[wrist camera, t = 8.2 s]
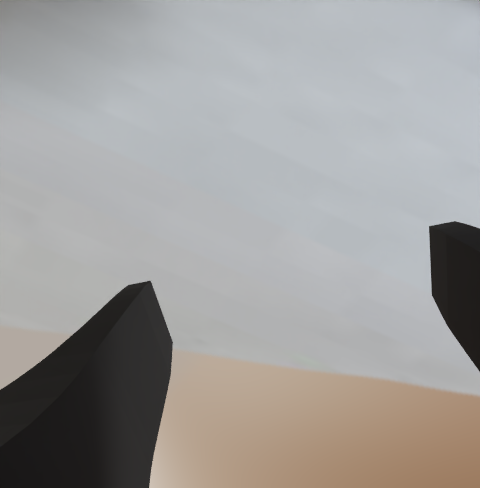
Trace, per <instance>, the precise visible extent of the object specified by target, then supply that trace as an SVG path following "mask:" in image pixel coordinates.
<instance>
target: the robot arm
mask: <svg viewBox="0 0 480 488" xmlns="http://www.w3.org/2000/svg"><path fill="white" fill-rule="evenodd" d="M429 233H430V257H431V282H432V296H433V298H434V300H435V302H436V304H437V306H438V308H439V310H440V312H441V314H442V316H443V318H444V320H445V322H446V324H447V326H448V327H449V329H450V330H451V332H452V333H453V335H454V336H455V337H456V339H457V340H458V342H459V343H460V345H461V346H462V347H463V349H464V350H465V352H466V353H467V354H468V356H469V357H470V359H471V360H472V361H473V363H474V364H475V366H476V367H477V368H478V370H479V371H480V229H479V228H476V227H473V226H470V225H467V224H463V223H459V222H455V221H454V222H449V223H444V224H439V225H434V226H429ZM172 344H173V342H172V339H171V336H170V333H169V331H168V328H167V325H166V322H165V320H164V317H163V314H162V311H161V308H160V306H159V303H158V300H157V297H156V294H155V292H154V289H153V286H152V283H151V281H147V282H142V283H137V284H132V285H128V286H127V287H125V288H124V289H123V290H121V291H120V292H119V293H118V294H117V295H116V296H115V297H113V298H112V299H111V300H110V301H109V302H108V303H107V304H106V305H105V306H104V307H103V308H102V309H101V310H100V311H98V312H97V313H96V314H95V315H94V316H93V317H92V318H91V319H90V320H89V321H88V322H87V323H86V324H84V325H83V326H82V327H81V328H80V329H79V330H78V331H77V332H75V333H74V334H73V335H72V336H71V337H70V338H69V339H67V340H66V341H65V342H64V343H63V344H61V345H60V347H58V348H57V349H56V350H55V351H53V352H52V353H51V354H50V355H48V356H47V357H46V358H45V359H43V360H42V361H41V362H40V363H38V364H37V365H36V366H34V367H33V368H32V369H30V370H29V371H27V372H26V373H25V374H23V375H22V376H20V377H19V378H18V379H16V380H15V381H13V382H12V383H10V384H9V385H7V386H6V387H4V388H3V389H1V390H0V488H149V483H150V473H151V467H152V461H153V455H154V450H155V444H156V441H157V436H158V431H159V426H160V422H161V418H162V413H163V408H164V404H165V399H166V394H167V390H168V384H169V380H170V374H171V362H172Z"/></svg>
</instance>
